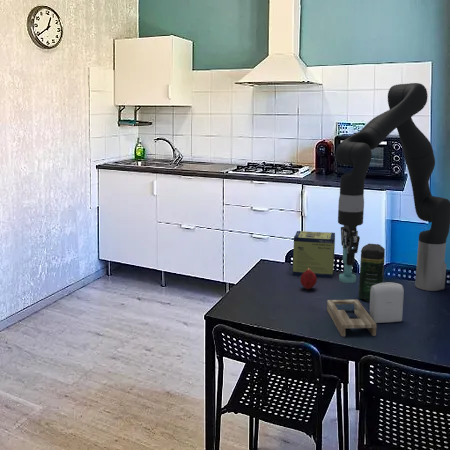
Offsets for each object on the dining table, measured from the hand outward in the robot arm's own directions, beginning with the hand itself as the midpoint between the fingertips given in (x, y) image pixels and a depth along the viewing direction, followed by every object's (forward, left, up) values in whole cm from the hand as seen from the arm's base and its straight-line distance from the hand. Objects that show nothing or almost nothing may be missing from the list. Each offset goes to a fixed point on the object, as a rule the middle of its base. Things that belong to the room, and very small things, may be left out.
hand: (348, 262), depth 170 cm
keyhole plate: (0, +5, -18) cm, 18 cm away
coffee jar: (-13, -16, -18) cm, 27 cm away
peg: (0, 0, -6) cm, 6 cm away
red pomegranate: (+7, -25, -18) cm, 32 cm away
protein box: (+2, -44, -18) cm, 48 cm away
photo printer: (-11, +4, -18) cm, 22 cm away
